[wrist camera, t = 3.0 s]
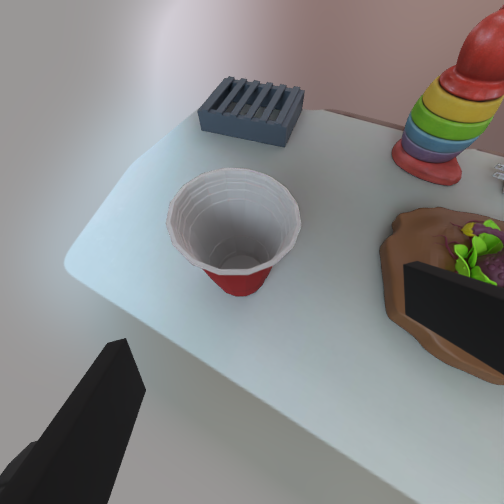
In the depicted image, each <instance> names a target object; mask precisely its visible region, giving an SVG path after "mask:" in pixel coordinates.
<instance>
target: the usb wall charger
mask: <svg viewBox="0 0 504 504" xmlns="http://www.w3.org/2000/svg"><path fill="white" fill-rule="evenodd" d="M499 165H501V167H500V168H498V167H497V166H499ZM494 168H497V169H499V170H502V171H504V165H502V164H497V165H496V166H495V167H494ZM495 174H500V175H499V176H495ZM492 176H494V177H496V178H499V179H502V180H504V174H503V173H499V172H495V173H494V174H493V175H492ZM502 193H504V187H503V192H502Z"/></svg>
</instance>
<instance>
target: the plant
mask: <svg viewBox="0 0 504 504" xmlns="http://www.w3.org/2000/svg"><path fill="white" fill-rule="evenodd" d="M392 229H393V235H391V236H389V237H388V238H387V239H386V240H385V241H384V242H383V244H382V245H381V247H380V258H381V268H382V276H383V282H384V297H385V306H386V312H387V315H388V317H389V318H390V319H391V320H392V321H394V322H395V323H396V324H398V325H399V326H400V327H402V328H403V329H405V330H406V331H407V332H409V333H410V334H411V335H412V336H413V337H415V338H416V339H417V340H418V342H419V343H420V344H421V345H422V346H423V348H424V349H425V350H427V351H428V352H429V353H431V354H432V355H433V356H435V357H436V358H438V359H439V360H441V361H443V362H444V363H446V364H448V365H450V366H453V367H455V368H458V369H460V370H463V371H465V372H467V373H469V374H472V375H474V376H476V377H478V378H480V379H482V380H485V381H487V382H490V383H493V384H496V385H504V375H503V374H501V373H500V372H498V371H496V370H495V369H493V368H492V367H490V366H488V365H487V364H485V363H483V362H482V361H480V360H478V359H477V358H475V357H474V356H472V355H470V354H469V353H467V352H465V351H464V350H462V349H461V348H459V347H457V346H456V345H454V344H452V343H451V342H449V341H448V340H446V339H444V338H443V337H441V336H439V335H438V334H436V333H434V332H433V331H431V330H430V329H428V328H426V327H425V326H423V325H421V324H420V323H418V322H417V321H415V320H413V319H412V318H410V317H408V316H407V315H405V297H404V275H403V264H407V263H410V262H414V261H420V262H423V263H426V264H429V265H432V266H436V267H439V268H442V269H445V270H448V271H451V272H455V273H458V274H461V275H464V276H467V277H470V278H474V279H477V280H480V281H483V282H486V283H490V284H493V285H496V286H499V287H502V288H504V221H500V220H496V219H493V218H490V217H486V216H482V215H478V214H473V213H465V212H458V211H452V210H449V209H446V208H442V207H436V208H418V209H415V210H413V211H411V212H406V213H400V214H399V215H398V216H397V217H396V219H395V220H394V221H393V222H392Z"/></svg>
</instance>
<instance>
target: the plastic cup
mask: <svg viewBox="0 0 504 504" xmlns="http://www.w3.org/2000/svg"><path fill="white" fill-rule="evenodd" d="M166 226H167V229H168V232H169V235H170V238H171V242H172V245H173V246H174V247H175V248H176V249H177V250H178V251H179V252H180V253H181V254H182V255H183V256H184V257H185V258H186V259H187V260H188V261H189V262H190V263H191V264H192V265H194V266H197V267H200V268H202V269H203V270H204V271H205V272H206V273H207V274H208V276H209V277H210V278H211V279H212V280H213V281H214V282H215V283H216V284H217V285H218V286H219V287H221V288H222V289H223V290H224V291H225V292H226V293H228V294H231V295H234V296H247V295H250V294H252V293H255V292H256V291H257V290H258V289H259V288H260V287H261V286H262V285H263V283H264V280H265V279H266V278H267V276H268V274H269V272H270V270H271V269H272V267H273V266H274V265H275V264H276V263H277V262H278V261H279V260H280V259H282V258H283V257H284V256H285V255H286V254H287V253H288V252H289V251H290V250H291V249H292V248H293V247H294V245H295V242H296V240H297V237H298V234H299V231H300V228H301V219H300V212H299V206H298V204H297V202H296V201H295V199H294V198H293V196H292V195H291V193H290V192H289V190H288V189H287V188H286V187H285V186H283V185H282V184H281V183H279V182H278V181H276V180H275V179H273V178H272V177H271V176H269V175H266V174H263V173H260V172H257V171H254V170H251V169H247V168H222V169H218V170H214V171H210V172H206V173H202V174H200V175H199V176H197V177H195V178H194V179H192V180H191V181H189V182H187V183H186V184H184V185H183V186H182V187H181V188H180V190H179V191H178V192H177V194H176V195H175V196H174V198H173V199H172V200H171V202H170V204H169V209H168V214H167V219H166Z"/></svg>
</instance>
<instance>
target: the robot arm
mask: <svg viewBox="0 0 504 504" xmlns="http://www.w3.org/2000/svg"><path fill="white" fill-rule="evenodd" d="M403 275H404V297H405V315H407V316H408V317H410V318H412V319H413V320H415V321H417V322H418V323H420V324H421V325H423V326H425V327H426V328H428V329H430V330H431V331H433V332H434V333H436V334H438V335H439V336H441V337H443V338H444V339H446V340H448V341H449V342H451V343H452V344H454V345H456V346H457V347H459V348H461V349H462V350H464V351H465V352H467V353H469V354H470V355H472V356H474V357H475V358H477V359H478V360H480V361H482V362H483V363H485V364H487V365H488V366H490V367H492V368H493V369H495V370H496V371H498V372H500V373H501V374H503V375H504V288H502V287H499V286H496V285H493V284H490V283H486V282H483V281H480V280H477V279H474V278H470V277H467V276H464V275H461V274H458V273H455V272H451V271H448V270H445V269H442V268H439V267H436V266H432V265H429V264H426V263H423V262H420V261H414V262H410V263H407V264H403ZM145 392H146V389H145V386H144V384H143V381H142V378H141V376H140V373H139V371H138V368H137V365H136V363H135V360H134V358H133V355H132V353H131V350H130V347H129V345H128V343H127V340H126V338H124V339H121V340H117V341H113V342H109V343H107V344H106V346H105V347H104V348H103V350H102V351H101V353H100V354H99V355H98V357H97V358H96V360H95V361H94V363H93V364H92V365H91V367H90V368H89V370H88V371H87V372H86V374H85V375H84V377H83V378H82V379H81V381H80V382H79V384H78V385H77V386H76V388H75V389H74V391H73V392H72V394H71V395H70V396H69V398H68V399H67V400H66V402H65V403H64V405H63V406H62V408H61V409H60V410H59V412H58V413H57V415H56V416H55V417H54V419H53V420H52V421H51V423H50V424H49V426H48V427H47V429H46V430H45V431H44V433H43V434H42V436H41V437H40V438H39V440H38V441H35V442H31V443H30V444H29V445H28V446H27V447H26V448H25V449H24V450H23V451H22V452H21V453H20V454H19V455H18V456H17V457H16V458H14V459H13V460H12V461H11V463H9V464H8V466H7V467H6V469H5V470H4V471H3V473H2V474H1V475H0V504H107V503H108V500H109V498H110V495H111V491H112V489H113V486H114V483H115V480H116V477H117V473H118V471H119V468H120V465H121V462H122V459H123V456H124V453H125V450H126V447H127V445H128V442H129V438H130V436H131V433H132V430H133V427H134V424H135V421H136V418H137V415H138V412H139V409H140V406H141V403H142V400H143V397H144V395H145Z"/></svg>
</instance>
